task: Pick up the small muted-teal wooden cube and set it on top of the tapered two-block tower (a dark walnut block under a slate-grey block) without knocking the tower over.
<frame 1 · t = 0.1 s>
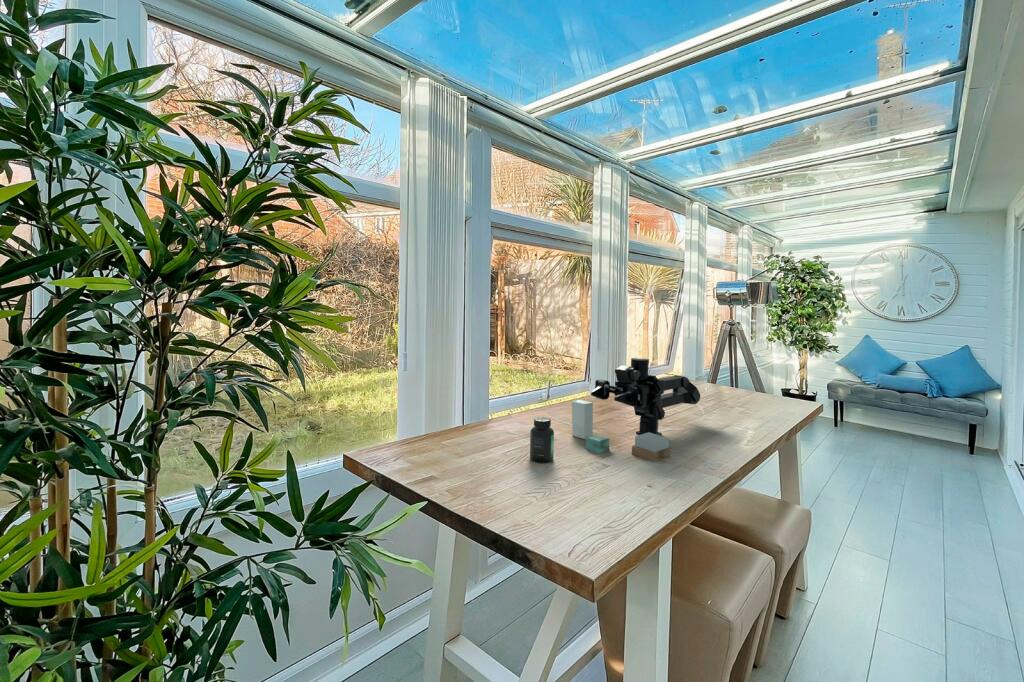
hand: (602, 396, 142), 17 cm above the table, tool horizontal, fingers open, 9 cm apart
supplement bottle: (541, 460, 133), on the table
skincare box: (581, 437, 155), on the table
walnut base block: (650, 456, 138), on the table, touching slate-grey top block
slate-grey top block: (651, 446, 137), point 3 cm above the table, touching walnut base block
teal cube: (597, 450, 142), on the table
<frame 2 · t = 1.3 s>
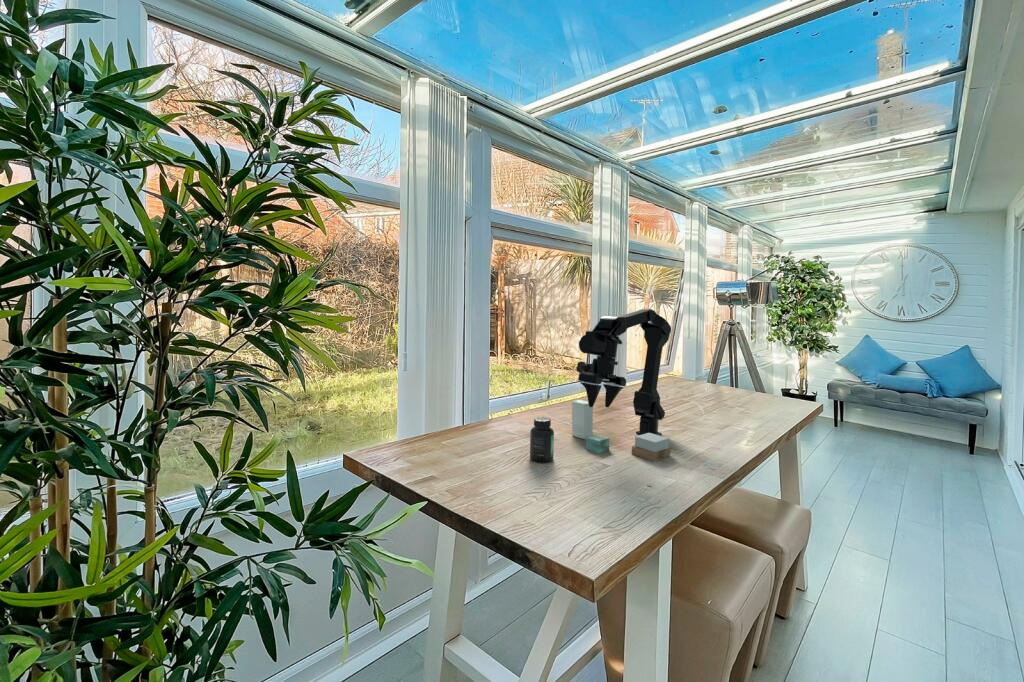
hand: (599, 407, 141), 13 cm above the table, tool pointing down, fingers open, 9 cm apart
nothing on the table moved.
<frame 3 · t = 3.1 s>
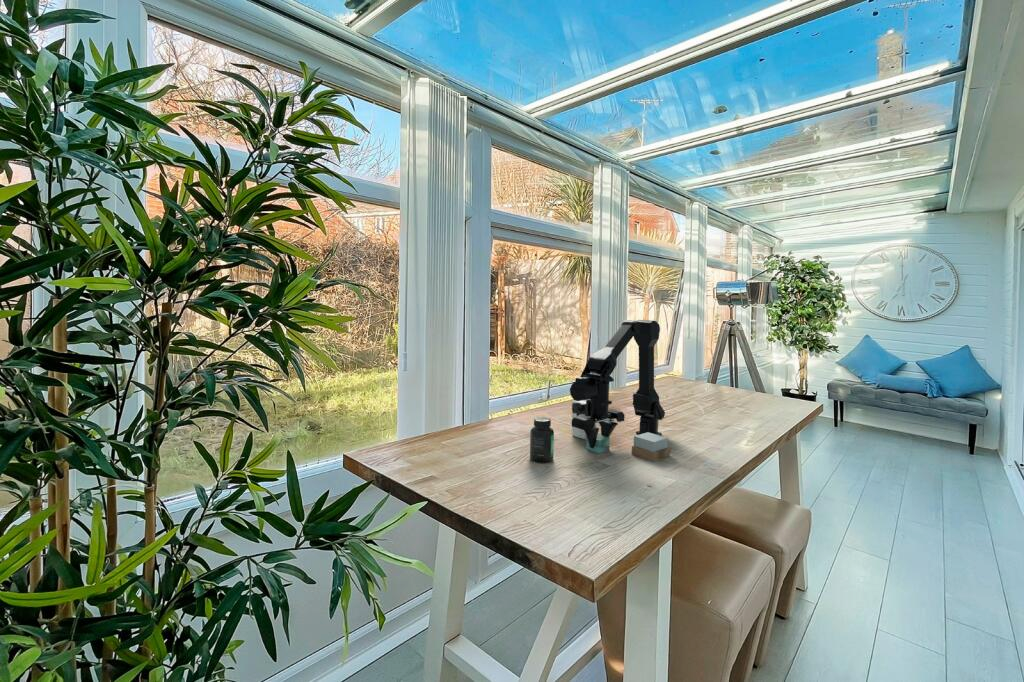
hand: (597, 446, 142), 1 cm above the table, tool pointing down, fingers closed on teal cube, 5 cm apart
teal cube: (597, 449, 142), on the table, touching gripper
everything else where it was.
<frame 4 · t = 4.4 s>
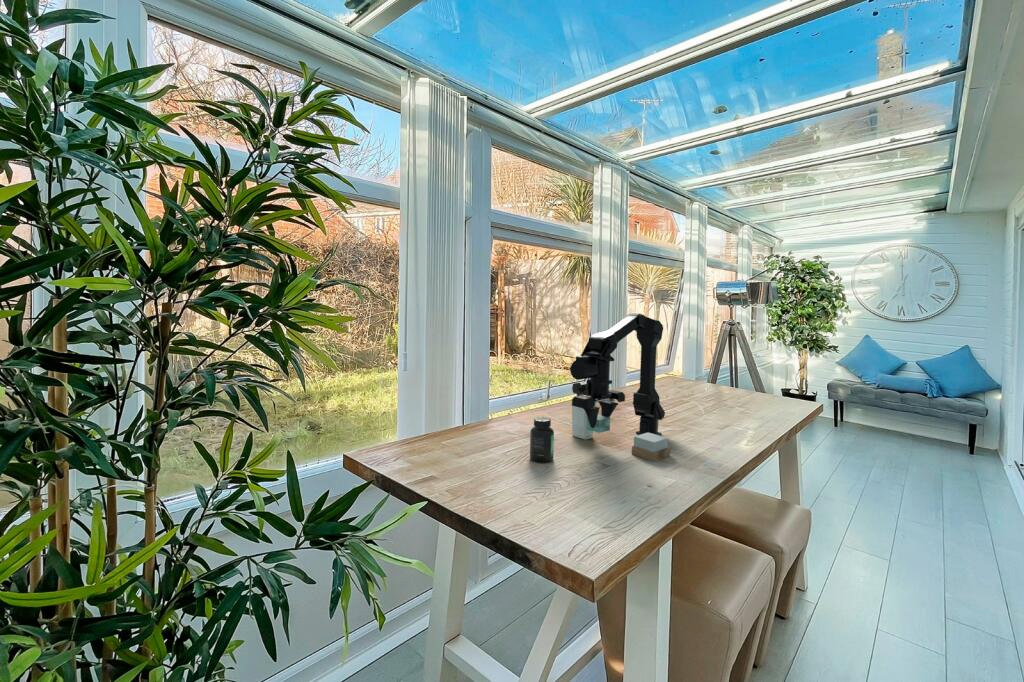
hand: (598, 426, 141), 7 cm above the table, tool pointing down, fingers closed on teal cube, 5 cm apart
teal cube: (598, 429, 141), point 6 cm above the table, touching gripper
everything else where it was.
when the fingers open (8 cm above the table, at t = 7.4 s): teal cube drops 2 cm, resting on slate-grey top block.
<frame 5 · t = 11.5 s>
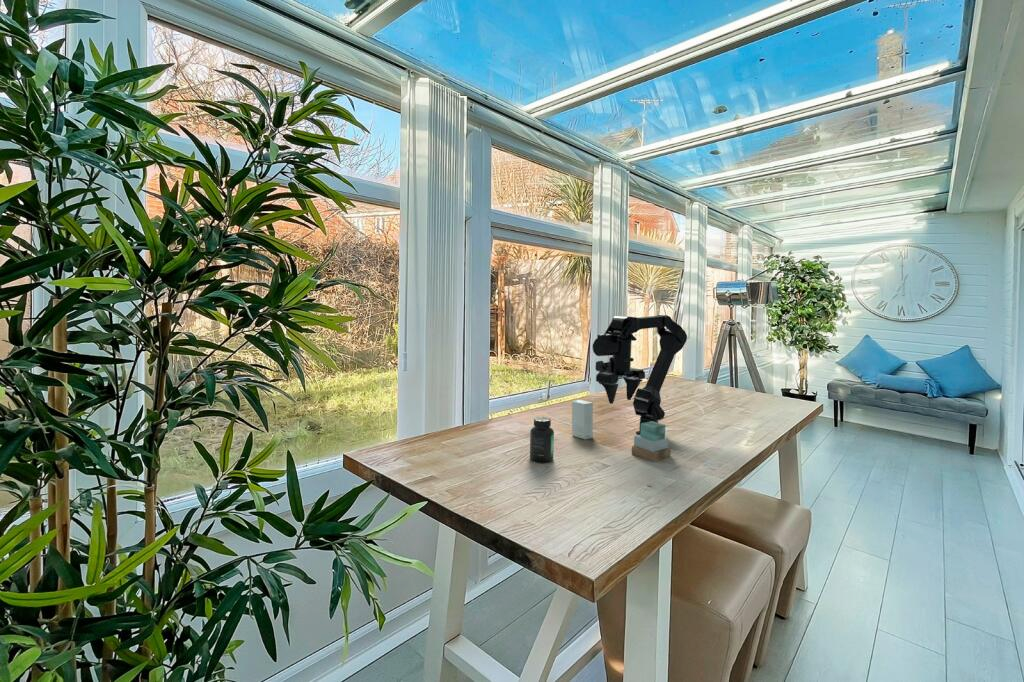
hand: (620, 401, 151), 13 cm above the table, tool pointing down, fingers open, 9 cm apart
slate-grey top block: (650, 446, 138), point 3 cm above the table, touching teal cube, walnut base block
teal cube: (652, 437, 137), point 6 cm above the table, touching slate-grey top block
everything else where it was.
at the end: teal cube 0.4 cm off-centre on the slate-grey top block, point 3.0 cm above the slate-grey top block's base; teal cube tilted 0°; slate-grey top block 0.4 cm off-centre on the walnut base block, point 3.0 cm above the walnut base block's base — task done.
